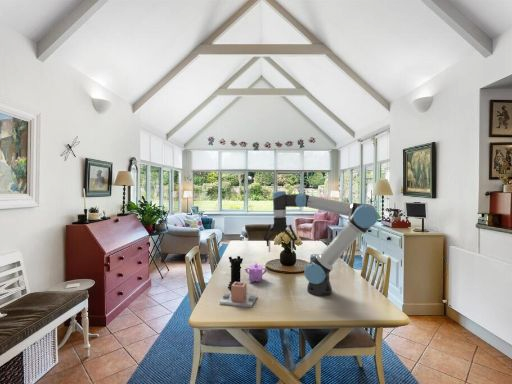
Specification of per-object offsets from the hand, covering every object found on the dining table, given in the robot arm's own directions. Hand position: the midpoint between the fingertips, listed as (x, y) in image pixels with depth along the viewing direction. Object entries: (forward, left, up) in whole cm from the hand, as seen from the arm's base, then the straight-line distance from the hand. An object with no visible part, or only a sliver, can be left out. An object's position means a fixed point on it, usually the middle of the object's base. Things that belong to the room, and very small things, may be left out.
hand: (280, 251), depth 170 cm
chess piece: (+29, -2, -26) cm, 39 cm away
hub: (+22, +15, -24) cm, 36 cm away
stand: (+22, +15, -26) cm, 37 cm away
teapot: (+20, -21, -26) cm, 39 cm away
